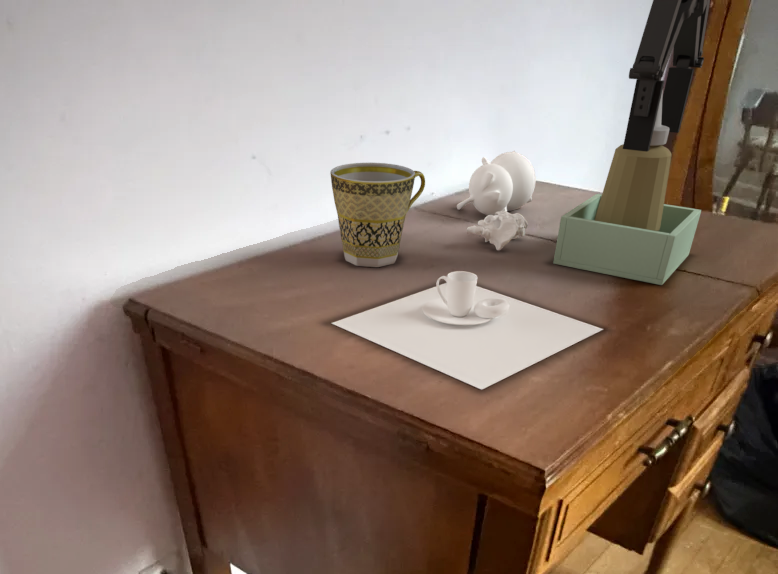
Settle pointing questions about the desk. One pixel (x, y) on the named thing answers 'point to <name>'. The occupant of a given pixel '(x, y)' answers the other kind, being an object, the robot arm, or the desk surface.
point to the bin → (625, 243)
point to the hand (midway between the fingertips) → (652, 140)
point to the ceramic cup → (373, 209)
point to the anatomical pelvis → (500, 228)
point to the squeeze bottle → (637, 183)
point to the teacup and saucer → (468, 330)
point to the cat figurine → (501, 184)
